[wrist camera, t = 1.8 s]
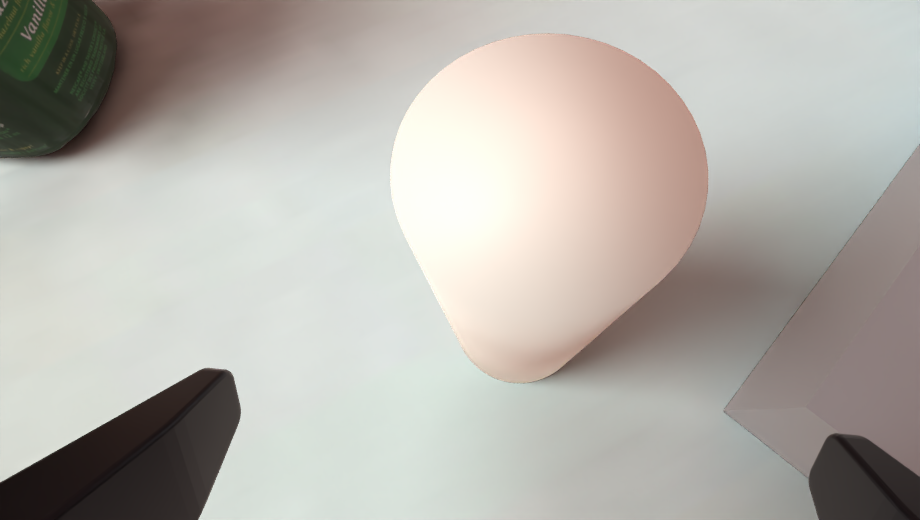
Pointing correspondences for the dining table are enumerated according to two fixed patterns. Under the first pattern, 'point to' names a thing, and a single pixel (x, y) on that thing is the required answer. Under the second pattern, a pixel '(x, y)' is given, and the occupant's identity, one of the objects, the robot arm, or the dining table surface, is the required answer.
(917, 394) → the well block
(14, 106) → the coffee jar
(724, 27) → the dining table surface
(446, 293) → the pink cylinder peg
